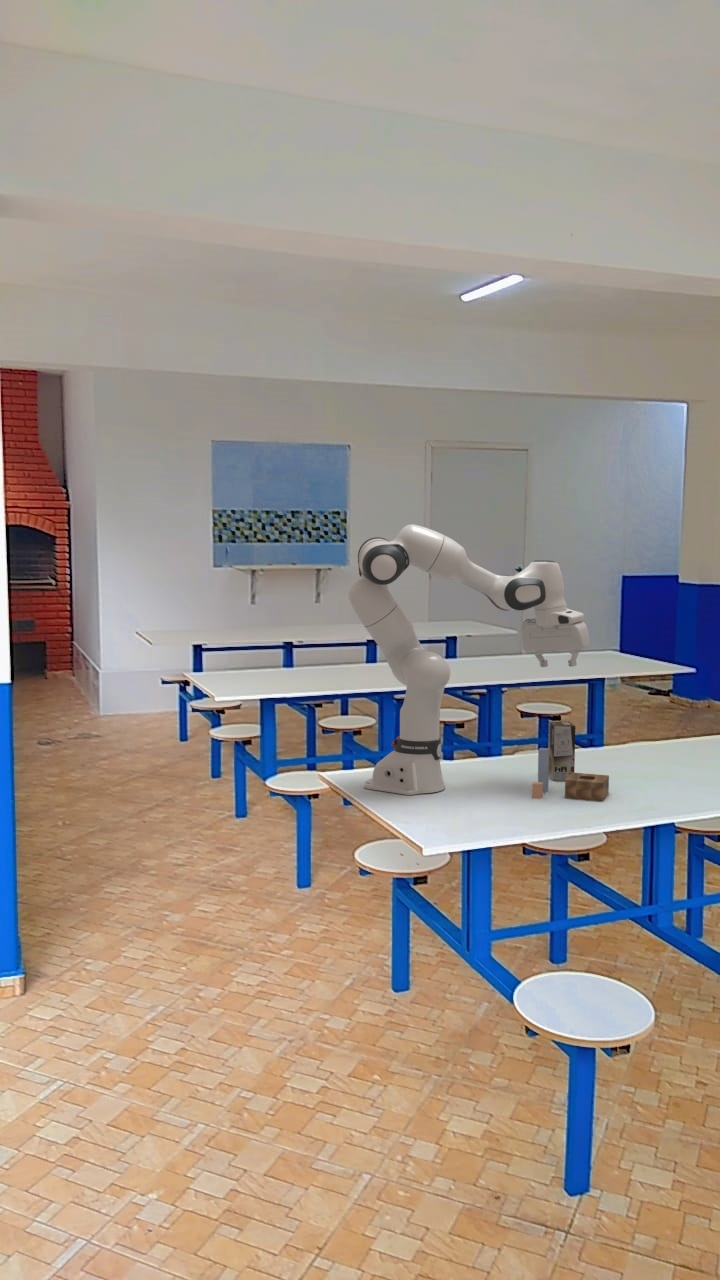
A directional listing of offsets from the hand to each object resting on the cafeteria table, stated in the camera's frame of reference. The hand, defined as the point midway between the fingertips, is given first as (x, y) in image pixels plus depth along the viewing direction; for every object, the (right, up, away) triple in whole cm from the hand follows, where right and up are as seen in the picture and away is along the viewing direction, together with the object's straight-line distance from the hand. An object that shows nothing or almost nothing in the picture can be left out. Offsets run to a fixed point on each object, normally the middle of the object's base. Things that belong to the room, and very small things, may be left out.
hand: (558, 666), depth 280 cm
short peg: (-7, -35, -9) cm, 37 cm away
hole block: (+6, -35, -7) cm, 36 cm away
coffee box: (+4, -33, +16) cm, 37 cm away
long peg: (-5, -35, -2) cm, 35 cm away
